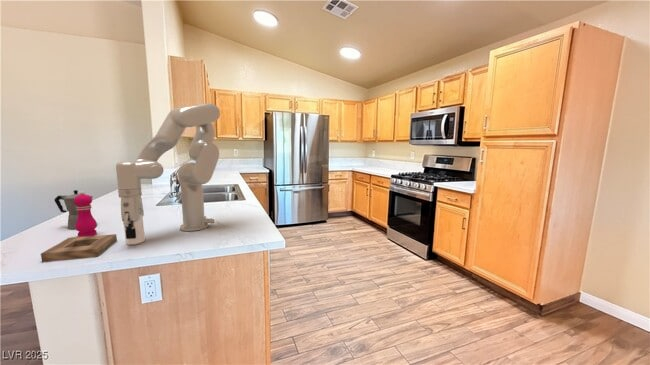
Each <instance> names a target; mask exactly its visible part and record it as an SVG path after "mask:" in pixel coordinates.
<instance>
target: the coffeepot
mask: <svg viewBox="0 0 650 365" xmlns="http://www.w3.org/2000/svg"><path fill="white" fill-rule="evenodd" d="M78 192H79V191H78V190H77V189H76V190H73V193H74V194H71V195H70V194H69V195H57V196H56V197H55V198H54V202H55V204H56V206H57V208H58V210H59V211H60V213H67V212H68V215H67V217H68V219H67V230H76V229H75V224H76V221H77V219H78V210H76V209H77V208H76V207H77V205H75V204H74V198H75V197H76V196H78V195H80V194H79V193H78ZM90 196H91V198H92V199H93V195H90ZM61 200H63V202H64V204H65V207H66V210H65V209H64V206H63V205H62V204H61Z"/></svg>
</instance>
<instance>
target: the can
mask: <svg viewBox="0 0 650 365" xmlns="http://www.w3.org/2000/svg"><path fill="white" fill-rule="evenodd" d="M129 221H132V220H129ZM129 224H131V225H132V223H129ZM134 228H135V231H136V238H133V239H126V231H125V226H124V225H123V230H124V239H125V244H126V245H128V246H134V245H139V244H142V243H144V242H145V240H146V238H145V227H144V216H143V217H142V215H141V216H140V219H139V220H138V221H136V222H135V221H134Z"/></svg>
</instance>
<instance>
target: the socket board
mask: <svg viewBox="0 0 650 365" xmlns="http://www.w3.org/2000/svg"><path fill="white" fill-rule="evenodd" d="M116 242H118V238H117V233H116V234H101V235H95V236H86V237H78V236H73V237H67V238H66V239H64V240H62V241H60V242H59V243H57V244H56V245H54V246H51V247H50V248H48V249H47V250H45V251H43V252H41V253H40V257H41V258H40V259H41V262H42V263H44V262H54V261H55V262H56V261H66V260H76V259H87V258H98V257H99V256H101V255H102V254H104V252H105V251H107V250H108V249H109V248H110V247H112V246H113V245H114V244H115V243H116Z"/></svg>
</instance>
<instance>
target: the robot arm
mask: <svg viewBox="0 0 650 365" xmlns="http://www.w3.org/2000/svg"><path fill="white" fill-rule="evenodd" d="M220 116H221V110H220V107H218V106H217V105H216V104H214V103H213V102H212V103H210V102H207V103H200V104H199V103H198V104H196V105H192V106H186V107H177V108H173V109H171V110H170V111H169V112H168V114H167V115H166V117H165V119H164V121H163V122H162V123H161V125H160V127H159V129H158V131H157V133H156V134H155V136H154V137H152V139H151V140H150V141H149V142H148V143H147V144H146V145H145V146H144V147H143V149H142V150H141V151H140V153H139V154H138V156H137V157H136V159H135V161H120V162H117V163H116V165H115V171H116V181H117V191H118V198H119V199H120V214H121V220H122V222H123V223H122V224H123V227H124V226H125V231H126V239H133V238H136V231H135V228H134V221H135V222H136V221H138V220H139V219H140V216H141V215H142V217H143V218H144V216H145V213H144V207H143V206H144V205H143V199H142V195H143V194H142V192H143V191H142V184H141V183H142V182H141V181H142V179H146V180H154V179H159V178H160V177H161V176H162V175H163V174H164V166H163V164H161V163H159V162H158V160H159V159H160V158H161V157H162V156H163V155H164V154H165V153H166V152H168V151H170V150H172V149H173V148H175V147H176V146H177V144H178V142H179V141H180V139H181V137H182V135H183V133H184V132H185V130H186V128H192V127H195V133H194V135H193V136H194V137H192V138H193V139H192V141H191V144H190V147H189V149H188V157H189V158H190V159H191V160H193V161H195V162H186V163H185V162H184V163H183V164H181V165H180V166H179V167H178V171H177V179H178V183H179V187H180V195H181V211H182V213H181V214H182V224H180V226H179V230H180V231H183V232H197V231H200V230H204V229H206V228H208V227H209V224H214V223H215V218H212V217H211V218H207V216H206V215H205V204H204V203H205V201H204V188H203V185H206V184H208V183H209V182H210V181H211V180H212V177H213V175H214V172H215V170H216V167H217V164H218V161H219V158H220V149H219V147H218V146H217V145H216V144H215V143H214V139H215V135H216V133H215V132H216V131H215V127H214V124H213V123H214V122H217V121H218V120H219V118H220ZM129 220H132V221H129ZM129 223H132V225H131V224H129ZM125 231H124V232H125Z"/></svg>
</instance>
